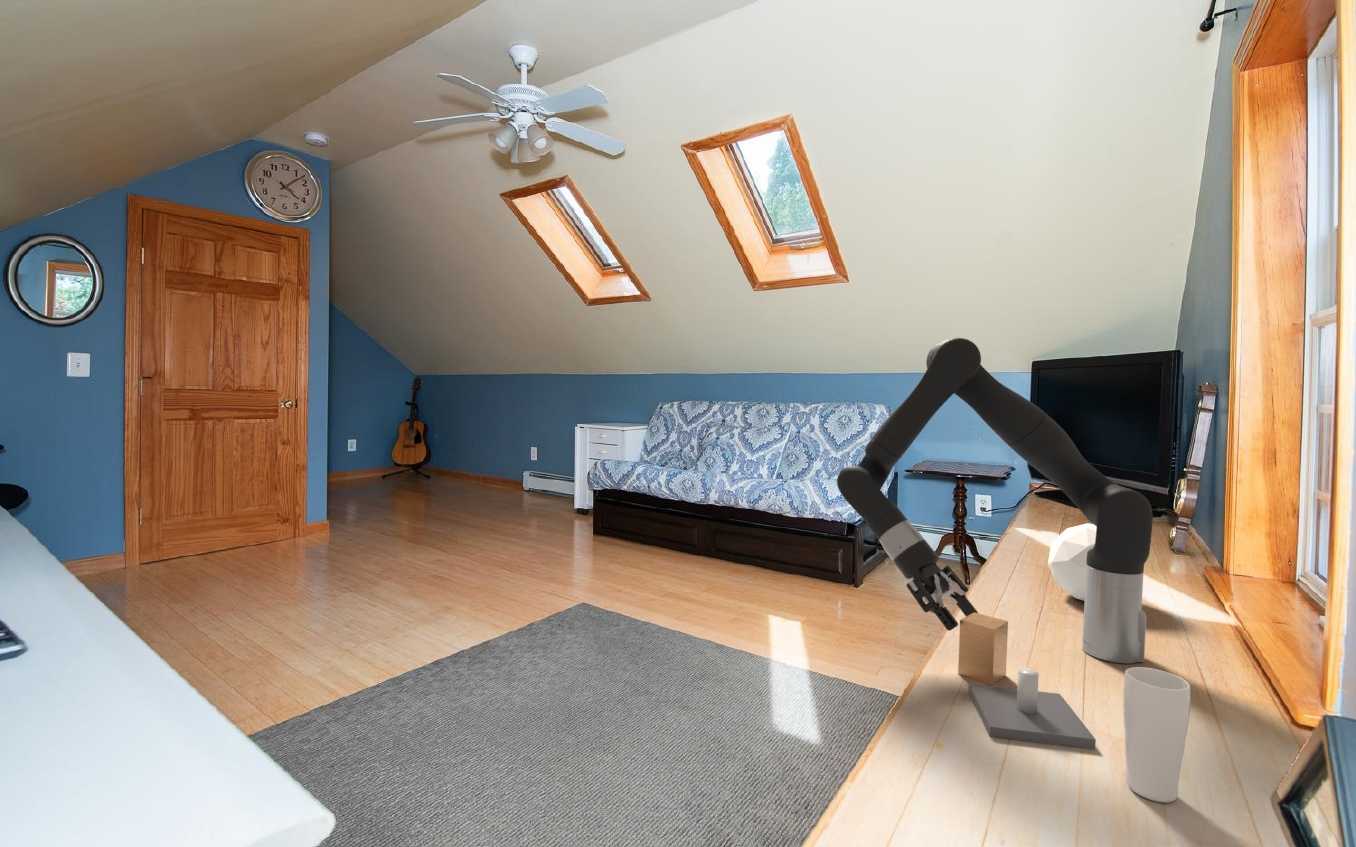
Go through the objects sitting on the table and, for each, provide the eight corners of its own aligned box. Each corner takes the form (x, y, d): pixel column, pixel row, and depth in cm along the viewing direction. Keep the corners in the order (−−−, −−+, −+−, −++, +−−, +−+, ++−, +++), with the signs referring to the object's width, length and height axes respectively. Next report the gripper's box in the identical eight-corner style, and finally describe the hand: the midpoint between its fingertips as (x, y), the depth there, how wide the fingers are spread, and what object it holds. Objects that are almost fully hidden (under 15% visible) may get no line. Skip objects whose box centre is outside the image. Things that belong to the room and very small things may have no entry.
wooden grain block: (972, 664, 118) (974, 612, 118) (1005, 675, 114) (1008, 621, 113) (958, 673, 114) (960, 619, 114) (992, 685, 110) (994, 629, 109)
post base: (1059, 702, 104) (1061, 658, 103) (1095, 749, 90) (1097, 698, 90) (968, 692, 107) (969, 649, 107) (989, 736, 93) (991, 687, 93)
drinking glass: (1106, 776, 84) (1111, 666, 83) (1153, 774, 84) (1159, 665, 84) (1148, 810, 77) (1154, 691, 76) (1199, 807, 78) (1205, 689, 77)
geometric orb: (1093, 621, 160) (1125, 555, 164) (1140, 621, 141) (1176, 546, 145) (1021, 579, 164) (1054, 515, 169) (1058, 572, 145) (1095, 501, 150)
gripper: (902, 544, 117) (962, 621, 109) (938, 533, 127) (995, 603, 119) (876, 566, 121) (931, 642, 113) (912, 553, 131) (966, 623, 123)
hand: (964, 622), depth 116 cm, fingers open, 8 cm apart
